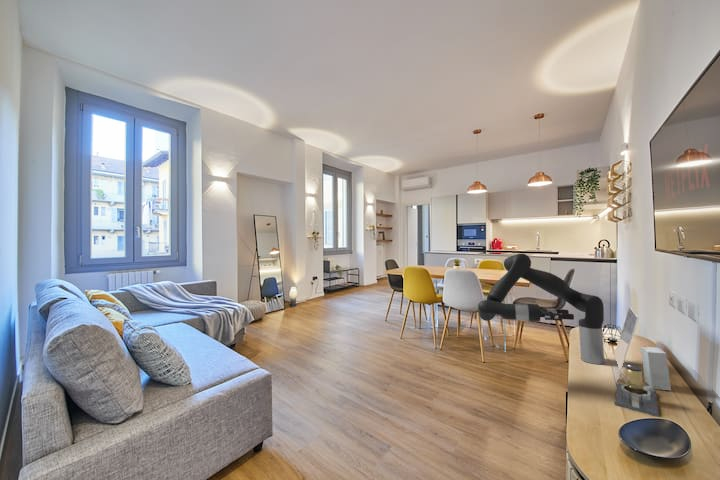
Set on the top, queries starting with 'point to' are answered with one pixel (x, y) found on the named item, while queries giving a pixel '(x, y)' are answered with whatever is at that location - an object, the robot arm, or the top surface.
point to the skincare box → (655, 368)
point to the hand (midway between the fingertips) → (570, 314)
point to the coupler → (634, 377)
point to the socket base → (637, 399)
